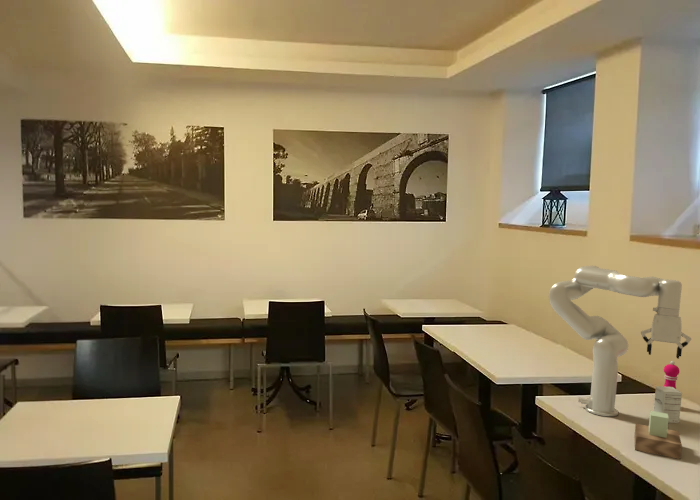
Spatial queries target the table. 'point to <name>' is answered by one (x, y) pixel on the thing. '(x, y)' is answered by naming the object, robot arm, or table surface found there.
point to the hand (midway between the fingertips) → (663, 356)
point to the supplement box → (668, 402)
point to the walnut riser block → (657, 442)
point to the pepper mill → (671, 375)
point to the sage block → (658, 424)
